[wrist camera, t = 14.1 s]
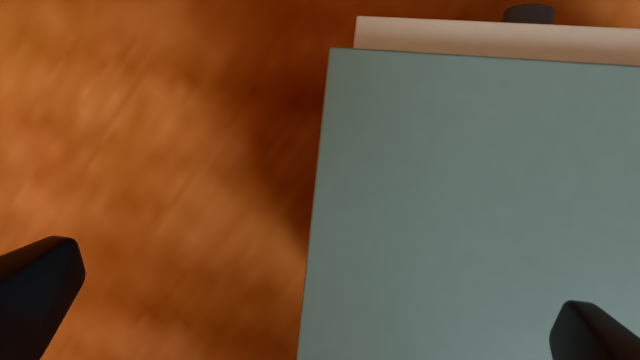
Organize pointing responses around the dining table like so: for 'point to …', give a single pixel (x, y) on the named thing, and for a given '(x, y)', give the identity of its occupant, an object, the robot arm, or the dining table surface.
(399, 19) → the drawer
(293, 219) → the dining table surface
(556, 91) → the drawer box
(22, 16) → the dining table surface
